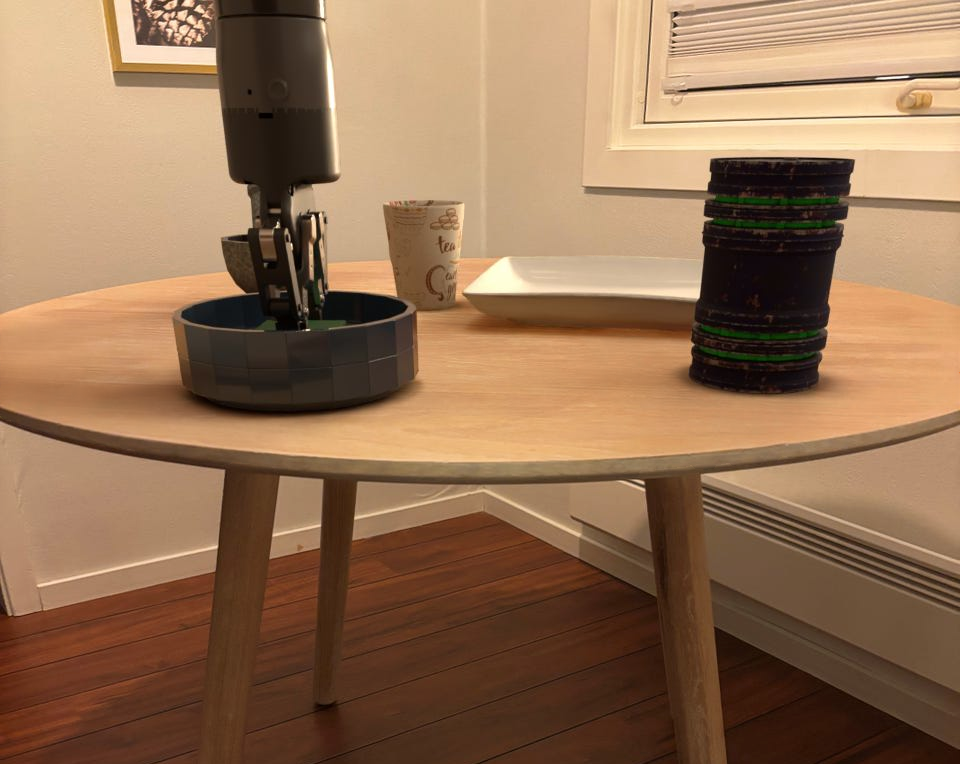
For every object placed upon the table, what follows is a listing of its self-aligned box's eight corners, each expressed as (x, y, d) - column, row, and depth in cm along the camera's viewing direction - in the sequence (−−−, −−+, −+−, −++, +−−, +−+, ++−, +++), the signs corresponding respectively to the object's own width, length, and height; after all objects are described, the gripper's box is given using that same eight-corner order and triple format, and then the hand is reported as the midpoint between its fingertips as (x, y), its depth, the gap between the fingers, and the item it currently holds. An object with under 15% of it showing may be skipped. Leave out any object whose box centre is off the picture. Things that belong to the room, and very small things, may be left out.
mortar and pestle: (324, 313, 98) (313, 184, 92) (231, 317, 95) (214, 186, 90) (312, 296, 107) (302, 178, 101) (228, 299, 105) (213, 180, 99)
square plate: (459, 331, 89) (458, 288, 87) (504, 287, 112) (504, 252, 110) (756, 340, 84) (762, 294, 82) (738, 292, 108) (742, 256, 106)
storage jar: (803, 400, 66) (841, 162, 59) (669, 384, 71) (690, 160, 64) (831, 371, 74) (868, 157, 67) (709, 358, 78) (731, 156, 71)
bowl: (148, 414, 64) (134, 330, 61) (225, 358, 79) (216, 289, 76) (401, 418, 63) (397, 333, 60) (429, 360, 78) (427, 290, 75)
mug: (412, 314, 96) (408, 207, 92) (356, 298, 106) (350, 200, 101) (480, 306, 100) (480, 203, 96) (420, 291, 110) (417, 196, 105)
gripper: (251, 105, 69) (277, 347, 77) (187, 101, 56) (226, 390, 65) (354, 104, 68) (368, 347, 77) (312, 100, 56) (335, 391, 64)
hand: (303, 365), depth 70 cm, fingers closed on sponge, 4 cm apart
